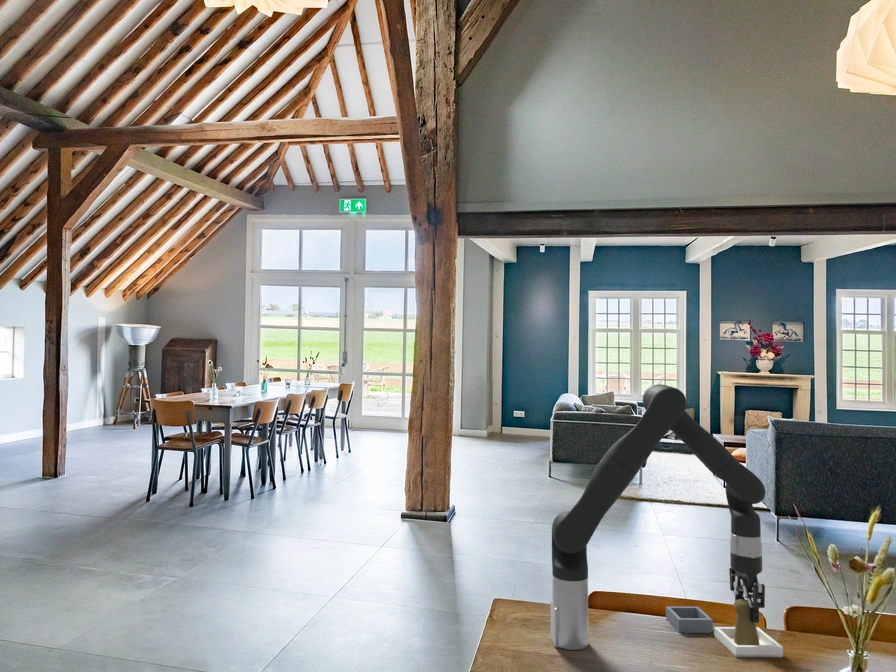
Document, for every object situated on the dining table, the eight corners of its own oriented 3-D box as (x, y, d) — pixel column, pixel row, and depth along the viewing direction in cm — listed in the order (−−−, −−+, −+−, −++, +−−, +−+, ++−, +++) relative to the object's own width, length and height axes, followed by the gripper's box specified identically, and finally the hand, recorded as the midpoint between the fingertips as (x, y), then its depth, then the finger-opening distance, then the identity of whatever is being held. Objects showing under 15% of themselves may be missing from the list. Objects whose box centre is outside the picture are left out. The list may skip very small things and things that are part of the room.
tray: (736, 657, 154) (735, 646, 154) (714, 636, 166) (714, 626, 166) (783, 657, 154) (783, 647, 154) (758, 636, 166) (757, 627, 166)
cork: (762, 649, 156) (760, 605, 157) (737, 648, 158) (734, 604, 158) (755, 639, 162) (753, 597, 163) (731, 638, 163) (729, 596, 164)
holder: (678, 632, 168) (678, 619, 168) (665, 618, 177) (665, 606, 177) (712, 632, 168) (712, 619, 168) (698, 618, 177) (697, 606, 178)
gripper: (719, 543, 168) (719, 605, 167) (745, 560, 154) (746, 627, 153) (746, 544, 168) (747, 605, 167) (775, 560, 154) (776, 628, 153)
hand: (746, 616), depth 160 cm, fingers open, 6 cm apart
